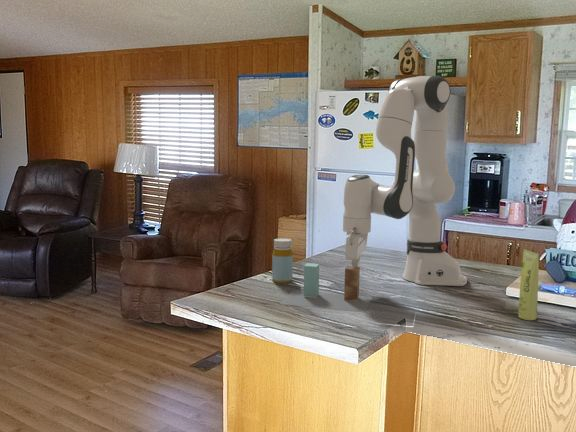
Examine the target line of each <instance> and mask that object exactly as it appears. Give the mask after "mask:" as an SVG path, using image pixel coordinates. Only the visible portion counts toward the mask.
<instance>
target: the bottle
mask: <svg viewBox="0 0 576 432" xmlns="http://www.w3.org/2000/svg"><path fill="white" fill-rule="evenodd" d="M292 243H293V241H292V238H287V237H283V238H282V237H278V238H275V239H273V250H272V255H271V256H272V258H271V259H272V263H271V264H272V265H271V266H272V269H271V270H272V272H271V274H272V275H271V276H272V278H271V279H272V282H273V283H276V284H288V283H289V284H290V283H291V282H292V281H293V266H294V265H293V260H294V254H293V249H292Z"/></svg>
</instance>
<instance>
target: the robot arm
mask: <svg viewBox="0 0 576 432" xmlns="http://www.w3.org/2000/svg"><path fill="white" fill-rule="evenodd" d="M389 86H390V87H389V88H388V91H387V93H386V96H385V98H384V101H383V103H382V105H381V108H380V111H379V114H378V120H377V123H376V127H375V128H376V129H375V136H376V138H377V140H378V142H379V143H380V144H381V146H383V147H384V148H386V149H387V150H388V151H390V152H392V153H393V154H394V156H395V161H396V163H395V173H394V183H393V184H392V186H391V185H383V184H380V183H377V182H375V181H374V180H373V179H372V178H371V176H370V175H367V174H355V175H352V176H349V177H347V179H346V181H345V184H344V189H343V191H344V192H343V206H344V212H343V215H342V217H343V218H342V231H343V232H345V233H346V239H345V240H346V241H345V253H344V257H345V258H344V259H346V260H349V261H351V266H354V267H360V259H361V255H362V253H363V252H364V251H365V250H366V248H367V245H368V244H367V243H368V237H369V236H368V235H369V233H371V230H372V228H371V227H372V224H371V223H372V214H374V215H379V216H385V217H388V218H393V219H395V220H401V219H403V218H405V217H406V216H408V238H407V240H406V262H405V267H404V270H403V273H402V278H403V279H404V280H405V281H408V282H412V283H414V284H415V283H416V284H418V285H424V286H426V285H427V286H449V287H450V286H455V287H462V286H465V285H467V283H468V278H467V277H466V276H465V275H464V274H462V269H461V266H460V263H459V262H458V261H457V260H456V259H455V258H453V257H452V256H451V255H450V254H449V253H447V252H446V251H447V248H448V246H447V243H445V242H444V241H442V240H441V230H442V229H441V228H442V220H441V219H442V218H441V216H440V215H439V213H438V210H437V207H436V204H442V203H443V204H444V203H447V202H449V201H450V200H451V199H453V197H454V195H455V191H456V183H455V181H454V180H453V178H452V176H451V175H450V171H449V167H448V161H447V134H448V112H447V111H448V110H447V106H446V105H447V104H448V102H449V100H450V97H451V86H450V83H449V81H448V80H447V78H445V77H443V76H440V75H439V76H438V75H432V76H430V75H418V76H412V77H407V78H403V77H402V78H400V79H396V80H394V81H393V82H392V83H391V84H390V85H389ZM415 111H416V117H415V124H414V135H413V138H412V126H413V121H414V115H415ZM415 160H416V161H417V162H416V161H415ZM415 162H416V163H417V167H418V169H415Z"/></svg>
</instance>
